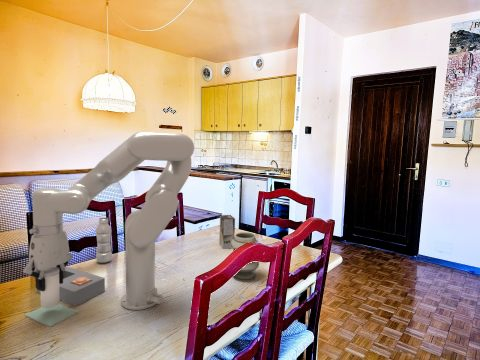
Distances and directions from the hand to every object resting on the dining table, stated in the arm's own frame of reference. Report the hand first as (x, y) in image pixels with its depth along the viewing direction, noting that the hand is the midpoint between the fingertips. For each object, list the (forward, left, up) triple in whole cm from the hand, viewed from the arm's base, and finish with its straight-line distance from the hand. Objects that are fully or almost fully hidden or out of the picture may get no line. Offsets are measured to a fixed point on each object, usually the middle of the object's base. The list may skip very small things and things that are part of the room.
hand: (50, 285), depth 95 cm
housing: (+8, -13, -9) cm, 18 cm away
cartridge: (0, 0, -6) cm, 6 cm away
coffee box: (-17, -86, -10) cm, 88 cm away
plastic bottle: (+20, -38, -10) cm, 44 cm away
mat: (0, 0, -9) cm, 9 cm away
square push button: (+2, -13, -9) cm, 16 cm away
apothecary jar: (-41, -56, -10) cm, 70 cm away
